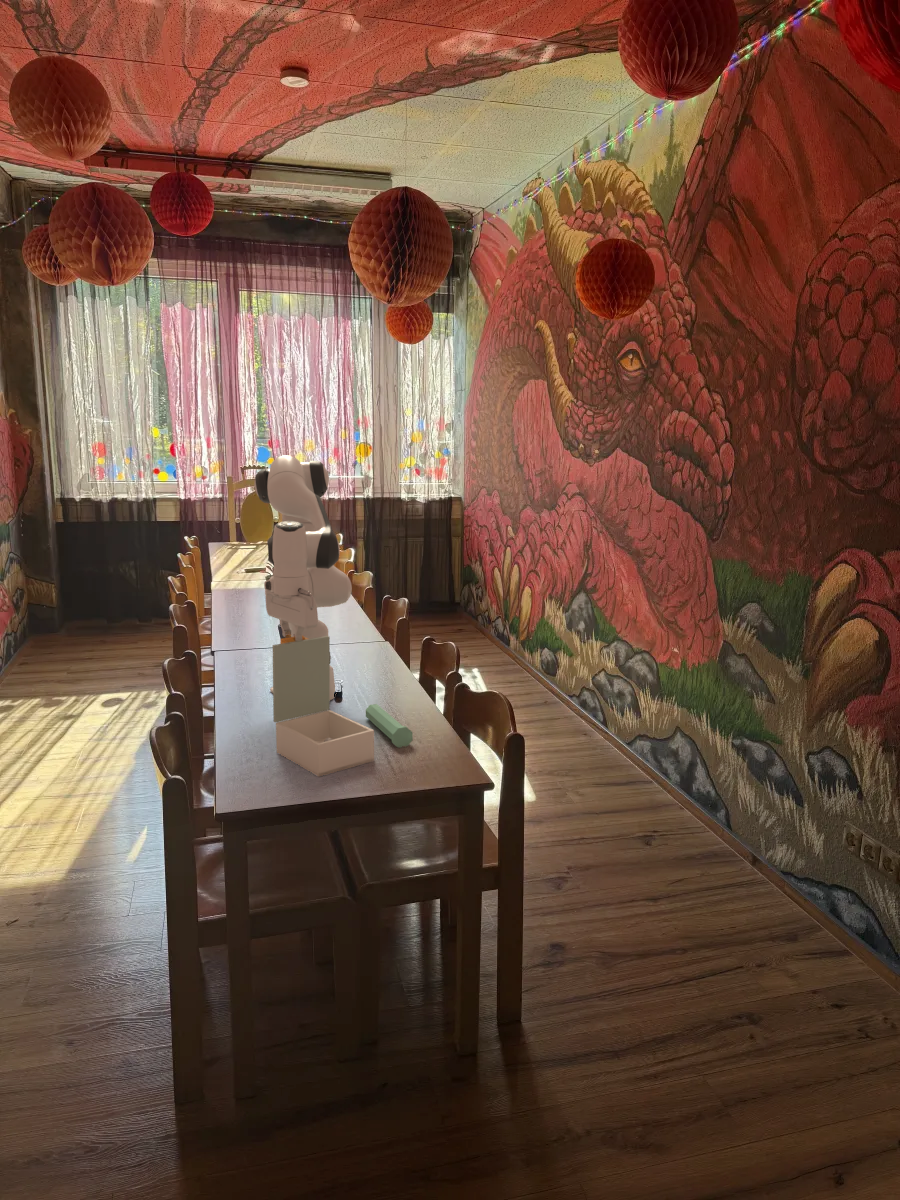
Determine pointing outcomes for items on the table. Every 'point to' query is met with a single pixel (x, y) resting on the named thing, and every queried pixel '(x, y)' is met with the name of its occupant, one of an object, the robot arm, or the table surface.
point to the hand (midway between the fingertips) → (292, 638)
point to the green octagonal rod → (389, 726)
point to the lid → (300, 677)
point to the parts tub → (325, 742)
